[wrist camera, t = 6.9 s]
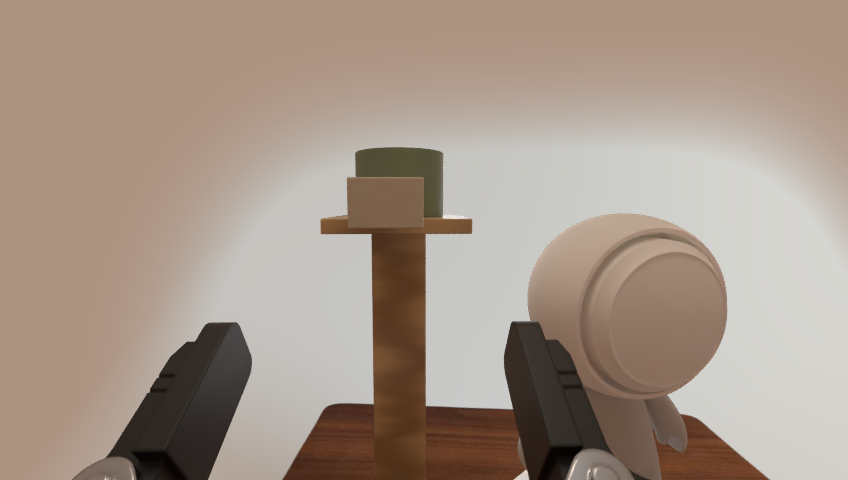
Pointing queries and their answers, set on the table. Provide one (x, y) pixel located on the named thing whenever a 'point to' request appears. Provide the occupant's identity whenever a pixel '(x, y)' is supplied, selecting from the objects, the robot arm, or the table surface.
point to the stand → (399, 340)
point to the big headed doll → (631, 324)
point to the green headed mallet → (395, 188)
